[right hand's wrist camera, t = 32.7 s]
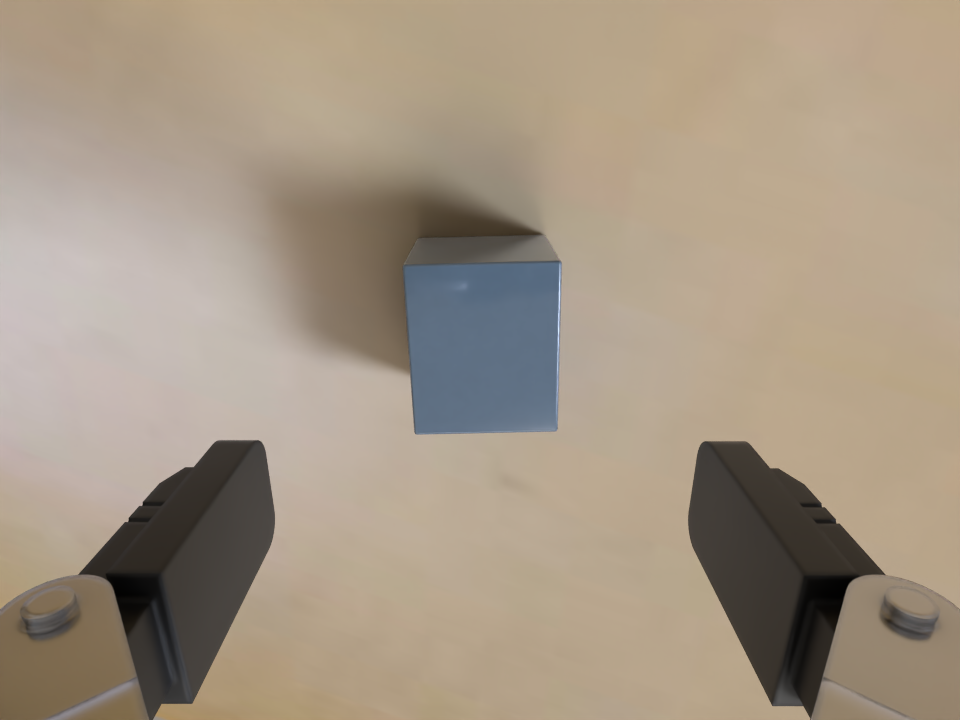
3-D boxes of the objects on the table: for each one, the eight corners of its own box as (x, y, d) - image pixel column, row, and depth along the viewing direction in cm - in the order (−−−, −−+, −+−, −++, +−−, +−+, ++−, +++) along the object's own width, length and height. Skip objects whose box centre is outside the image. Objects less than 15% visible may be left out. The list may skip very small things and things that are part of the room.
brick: (546, 234, 20) (562, 260, 16) (544, 377, 22) (557, 432, 18) (416, 237, 20) (401, 265, 16) (425, 380, 22) (414, 435, 18)
